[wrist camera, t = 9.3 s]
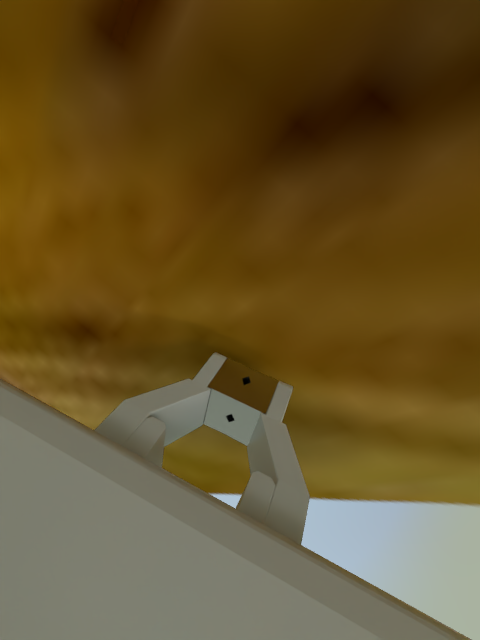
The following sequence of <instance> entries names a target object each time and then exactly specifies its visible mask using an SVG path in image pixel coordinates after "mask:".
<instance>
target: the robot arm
mask: <svg viewBox="0 0 480 640" xmlns="http://www.w3.org/2000/svg"><path fill="white" fill-rule="evenodd" d="M292 390H293V386H291V385H288V384H286V383H284V382H281V381H279V380H276V379H274V378H272V377H270V376H267V375H265V374H263V373H260V372H258V371H256V370H254V369H251V368H249V367H247V366H245V365H243V364H240V363H238V362H236V361H234V360H232V359H230V358H227V357H225V356H223V355H221V354H219V353H217V352H215V353H214V354H212V356H211V357H210V358H209V359H208V361H207V362H206V363H205V365H204V366H203V367H202V368H201V370H200V371H199V372H198V373H197V375H196V376H195V377H194V379H193V380H191V379H189V378H188V379H185V380H182V381H180V382H177V383H174V384H171V385H168V386H165V387H162V388H159V389H156V390H153V391H150V392H147V393H144V394H141V395H138V396H135V397H132V398H129V399H126V400H124V401H123V402H122V403H121V404H120V405H119V406H118V407H117V408H116V409H115V410H114V411H113V412H112V413H111V414H110V415H109V416H108V417H107V418H106V419H105V420H104V421H103V422H102V423H101V424H100V425H99V426H98V427H97V428H96V429H95V430H92V429H91V428H89V427H87V426H85V425H83V424H81V423H80V422H78V421H76V420H74V419H72V418H71V417H69V416H67V415H65V414H63V413H62V412H60V411H58V410H56V409H54V408H53V407H51V406H49V405H47V404H45V403H44V402H42V401H40V400H38V399H36V398H35V397H33V396H31V395H29V394H27V393H26V392H24V391H22V390H20V389H18V388H17V387H15V386H13V385H11V384H9V383H8V382H6V381H4V380H2V379H0V640H471V639H469V638H468V637H466V636H464V635H462V634H460V633H459V632H457V631H455V630H453V629H451V628H450V627H448V626H446V625H444V624H442V623H441V622H439V621H437V620H435V619H433V618H432V617H430V616H428V615H426V614H424V613H423V612H421V611H419V610H417V609H415V608H414V607H412V606H410V605H408V604H406V603H405V602H403V601H401V600H399V599H397V598H395V597H394V596H392V595H390V594H388V593H386V592H384V591H383V590H381V589H379V588H377V587H376V586H374V585H372V584H370V583H368V582H366V581H364V580H363V579H361V578H359V577H358V576H356V575H354V574H352V573H350V572H348V571H347V570H345V569H343V568H341V567H339V566H338V565H336V564H334V563H332V562H330V561H329V560H327V559H325V558H323V557H321V556H320V555H318V554H316V553H314V552H312V551H311V550H309V549H307V548H305V547H303V546H302V545H301V541H302V536H303V531H304V525H305V520H306V515H307V509H308V503H309V498H310V496H309V493H308V490H307V487H306V484H305V481H304V478H303V475H302V472H301V469H300V466H299V463H298V460H297V457H296V454H295V451H294V448H293V445H292V441H291V438H290V435H289V432H288V429H287V426H286V424H284V423H282V420H283V417H284V414H285V411H286V408H287V405H288V402H289V399H290V396H291V393H292ZM203 424H205V425H207V426H209V427H211V428H213V429H215V430H217V431H219V432H222V433H224V434H226V435H228V436H229V437H231V438H233V439H235V440H237V441H239V442H241V443H242V444H244V445H246V446H247V451H248V458H249V466H250V473H251V477H250V479H249V481H248V483H247V485H246V488H245V490H244V492H243V494H242V496H241V498H240V501H239V503H238V505H237V507H236V509H235V508H233V507H231V506H230V505H228V504H226V503H224V502H222V501H221V500H219V499H217V498H215V497H213V496H212V495H210V494H208V493H206V492H204V491H203V490H201V489H199V488H197V487H195V486H193V485H192V484H190V483H188V482H186V481H184V480H183V479H181V478H179V477H177V476H175V475H174V474H172V473H170V472H168V471H166V470H165V469H163V468H162V461H163V452H164V447H165V446H167V445H168V444H170V443H172V442H174V441H175V440H177V439H179V438H181V437H183V436H184V435H186V434H188V433H190V432H191V431H193V430H195V429H197V428H199V427H200V426H202V425H203Z"/></svg>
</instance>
